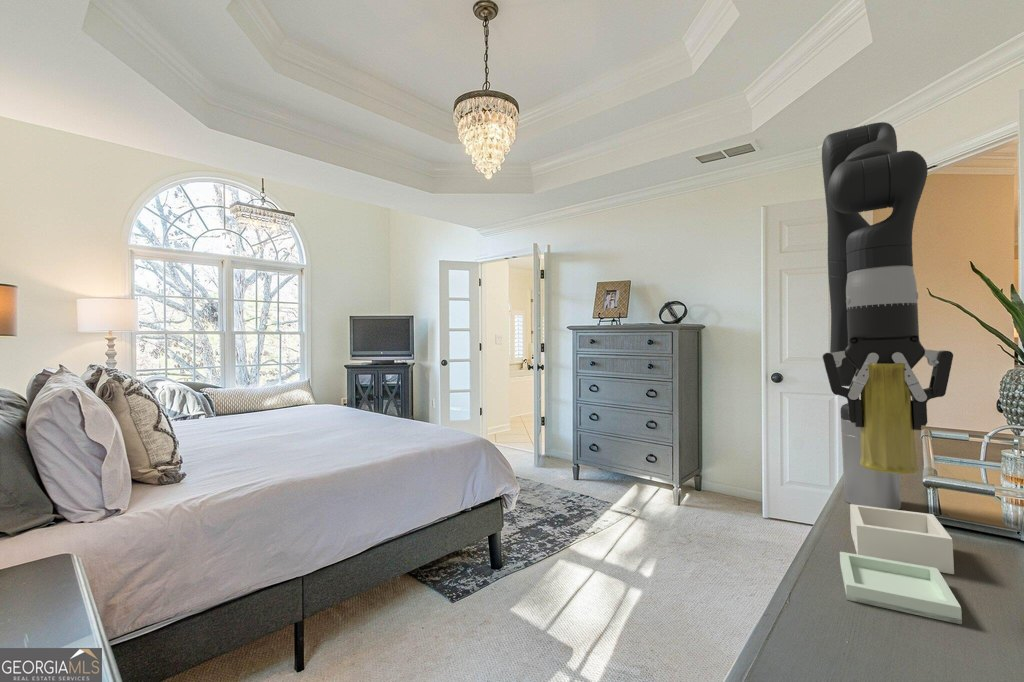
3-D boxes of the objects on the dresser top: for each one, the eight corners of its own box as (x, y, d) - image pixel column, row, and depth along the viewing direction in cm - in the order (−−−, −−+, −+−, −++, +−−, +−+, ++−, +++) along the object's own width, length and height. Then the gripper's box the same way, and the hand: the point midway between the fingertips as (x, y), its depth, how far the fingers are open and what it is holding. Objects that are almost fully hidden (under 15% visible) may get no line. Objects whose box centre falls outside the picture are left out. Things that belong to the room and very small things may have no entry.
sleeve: (851, 532, 80) (849, 504, 81) (934, 545, 75) (933, 514, 75) (858, 557, 71) (856, 525, 71) (954, 574, 65) (952, 539, 65)
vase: (930, 475, 58) (925, 363, 58) (875, 473, 59) (871, 364, 60) (900, 462, 64) (895, 361, 64) (850, 462, 65) (846, 362, 66)
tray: (840, 564, 69) (839, 551, 69) (937, 582, 63) (937, 568, 63) (846, 599, 60) (846, 584, 60) (962, 624, 54) (961, 607, 54)
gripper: (944, 301, 62) (950, 426, 61) (816, 308, 69) (821, 420, 69) (961, 296, 55) (967, 436, 55) (818, 305, 63) (823, 429, 63)
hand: (886, 427), depth 62 cm, fingers closed on vase, 5 cm apart
